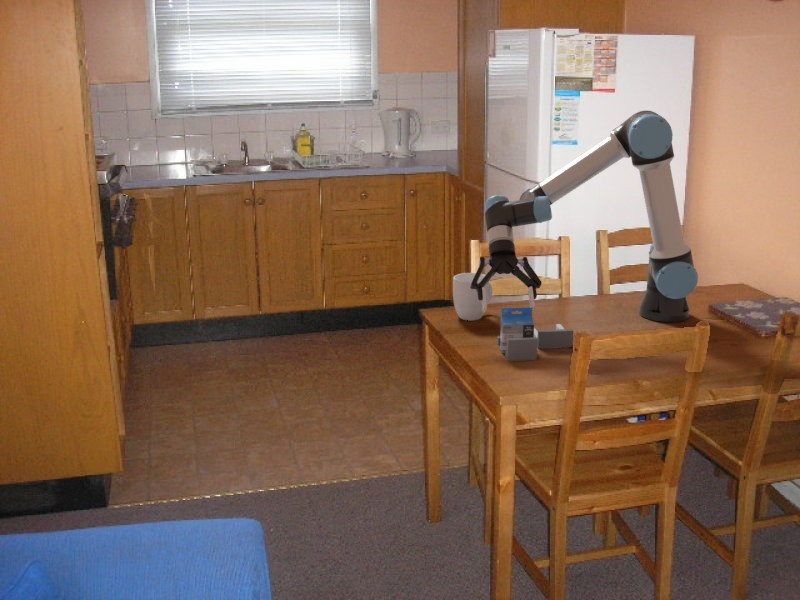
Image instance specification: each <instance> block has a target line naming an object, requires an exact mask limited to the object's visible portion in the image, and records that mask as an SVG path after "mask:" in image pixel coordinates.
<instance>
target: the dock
mask: <svg viewBox="0 0 800 600" xmlns="http://www.w3.org/2000/svg"><path fill="white" fill-rule="evenodd" d="M534 337H536V338H537V339H538V341H537V350H539V349H540V350H541V349H563V348H562V347H572V346H574V345H573V344H574V330H573V328H564V326H563V325H562V324H561V323H555V329H538V330H537V329H536V327H534Z"/></svg>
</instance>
